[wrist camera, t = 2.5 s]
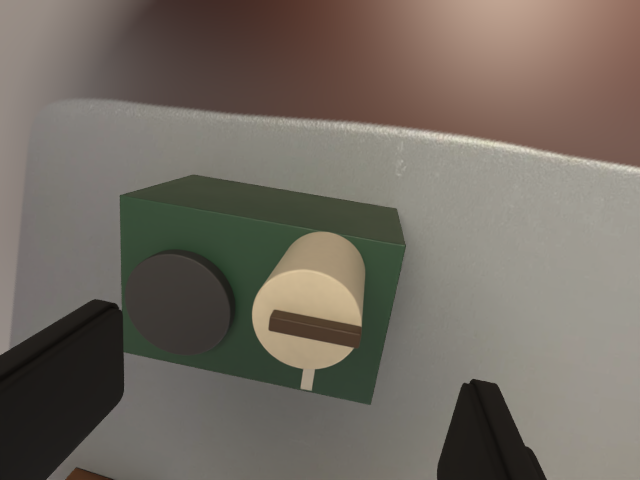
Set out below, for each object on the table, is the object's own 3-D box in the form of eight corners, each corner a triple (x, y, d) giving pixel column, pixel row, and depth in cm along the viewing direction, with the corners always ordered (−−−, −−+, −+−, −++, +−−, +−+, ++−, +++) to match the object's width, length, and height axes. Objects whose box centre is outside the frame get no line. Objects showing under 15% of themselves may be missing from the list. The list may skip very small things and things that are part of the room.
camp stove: (188, 292, 29) (112, 360, 21) (192, 174, 26) (108, 197, 18) (371, 329, 28) (370, 416, 20) (397, 208, 25) (407, 251, 17)
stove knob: (278, 300, 19) (241, 367, 14) (287, 224, 18) (251, 266, 13) (357, 315, 19) (350, 391, 14) (372, 239, 18) (370, 288, 12)
